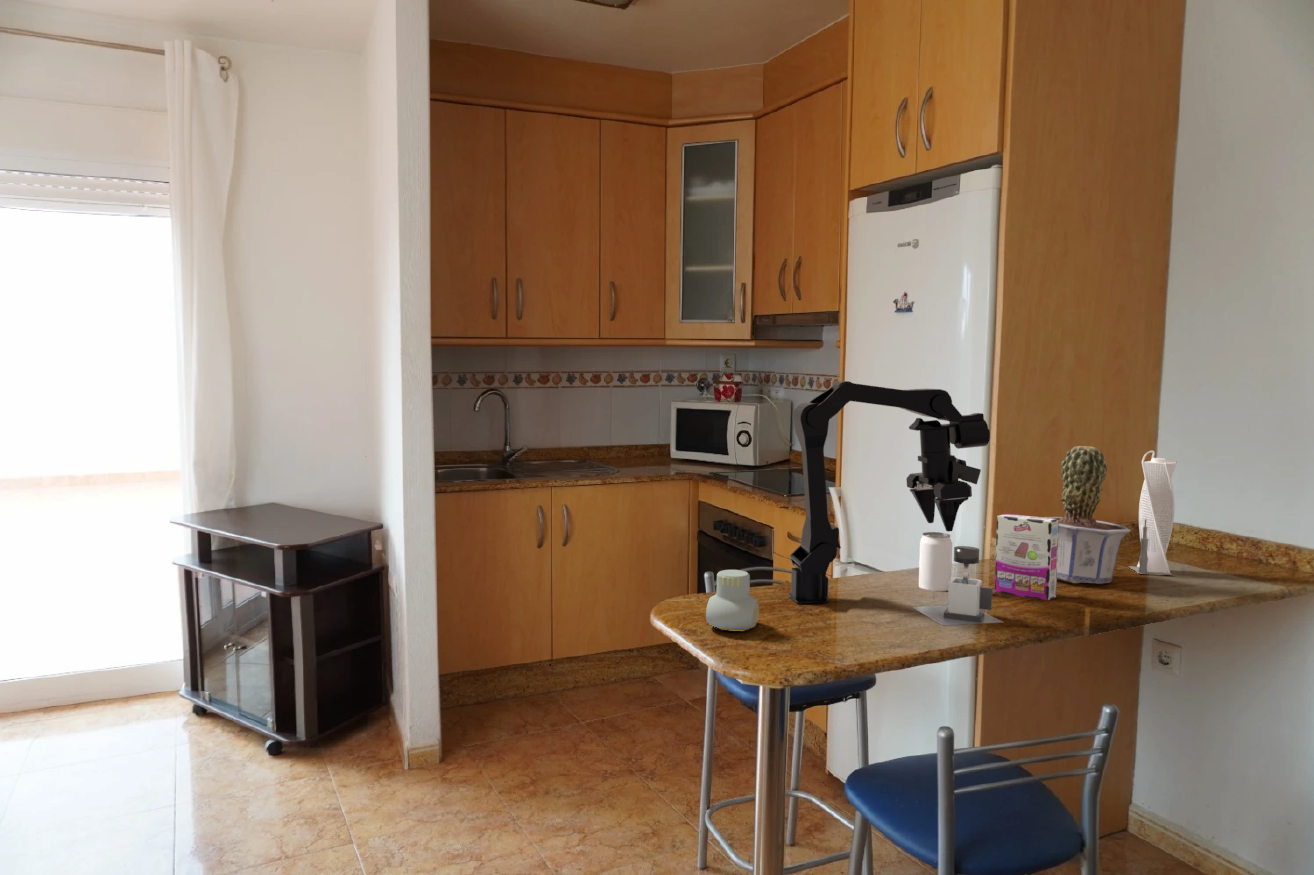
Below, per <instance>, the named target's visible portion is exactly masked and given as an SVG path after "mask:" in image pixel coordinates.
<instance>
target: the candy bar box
mask: <svg viewBox="0 0 1314 875" xmlns="http://www.w3.org/2000/svg"><path fill="white" fill-rule="evenodd" d="M1043 517H1044V516H1043ZM1043 517H1041V516H1033V515H1031V516H1030V515H1022V514H1014V513H1012V514H1011V513H1003V514H999V515H997V517H996V534H995V536H996V538H995V565H994V566H995V568H994V570H995V571H994V574H995V575H994V593H998V594H1002V595H1007V596H1013V595H1014V596H1015V597H1020V598H1027V599H1036V600H1045V601H1051V600H1054V599H1055V598H1056V597H1057V582H1058V581H1057V580H1058V579H1057V554H1058V527H1059V519H1051V518H1043Z"/></svg>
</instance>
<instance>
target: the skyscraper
mask: <svg viewBox="0 0 1314 875" xmlns="http://www.w3.org/2000/svg"><path fill="white" fill-rule="evenodd" d="M1155 452H1156V451H1155V450H1152V449H1151V450H1148V451H1147V452H1145V453H1144V455H1143V457H1142V459H1141V466H1142V472H1143V476H1144V477H1143V478H1144V480H1143V484H1142V488H1141V492H1140V497H1139V504H1138V527H1139V528H1138V529H1139V530H1138V531H1139V540H1140V553H1139V557H1138V559H1139V560H1138V563H1137V565H1136V566H1135V565H1134V566H1132V565H1131V566H1128V567H1130V568H1131V569H1133V570H1135V571H1136V572H1137V574H1138V573H1140V574H1162V575H1173V576H1174V574H1173V573H1171V571H1170V567H1169V563H1168V561H1167V560H1168V559H1167V556H1166V555H1167V551H1168V547H1169V543H1170V540H1171V536H1172V532H1173V527H1174V521H1175V519H1174V518H1175V495H1174V486H1173V482H1172V477H1173V475H1174V472H1175V469H1176V465H1177V460H1176V459H1174V458H1173V459H1169V460H1167V459H1166V458H1164V457H1155ZM1149 453H1150V454H1151V453H1152V455H1151V459H1150V460H1147V461H1145V460H1146V457H1147V455H1148V454H1149ZM1166 460H1167V461H1166ZM1131 569H1130V570H1131ZM1133 570H1132V571H1133ZM1136 572H1135V573H1136Z"/></svg>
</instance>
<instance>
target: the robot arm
mask: <svg viewBox="0 0 1314 875" xmlns="http://www.w3.org/2000/svg"><path fill="white" fill-rule="evenodd" d="M849 402H855V403H862V404H870V405H871V404H872V405H878V406H885V407H892V408H893V407H894V408H899V409H902V410H905V411H907V412H910V413H914V414H916V415H919V416H922V417H926V418H933V419H934V420H924V419H923V418H922V417H917V418H915V420H914V422H912V424H910V425H909V427H908V429H909V430H912V431H916V432H917V431H919V439H920V440H919V441H920V455H917V461H918V462H921V472H916V473H913V472H912V473H910V474H908V476H907V477H906V487H907V488H909V492H910V493H911V494H912V495H913V498H914V499H915V500H916V503H917V505H918V507H919V509H920V510H921V512H922V514H923V516H924V518H925V520H926V522H927V524H934V522H935V521H934V520H935V510H936V508H937V511H938V513H939V515H940V519H941V522H942V524H943V526H944V528H945V531H946V532H953V530H954V525H955V522H956V519H957V514H958V511H959V509H960V506H961V505H962V504H963V503H964V502H965V501H968V500H969V498H971V497H972V496H973V494H972V486H971V485H970V484H969V483H971V484H973V485H978V482H979V479H980V476H981V475H980V474H981V471H982V469H980V468H976V467H973V466H970V465H967V461H966V460H963V459H960V458H958V457H956V456H955V455H952V451H951V444H952V445H953V446H954V447H955V448H956V449H959V450H960V449H967V448H968V449H969V448H971V449H972V448H979V447H986V446H988V444H989V443H990V437H991V431H990V429H989V427H988V423H987V421H986V420H985V419H984V418H985V417H984V413H980V412H976V413H975V412H974V413H971V414H963V415H962V413H961V412H960V411H959V409H957V408H956V406H955V405H954V404H953V400H952V396H951V395H950V393H949V392H948V391H947V390H944V389H940V388H938V389H937V388H911V389H898V388H897V389H896V388H891V387H883V386H878V385H877V386H876V385H869V384H860V383H854V382H851V381H849V380H847V381H846V380H839V381H837V382H835V383H834V384H833V385H832V386H830V387H829V388H828V389H827V390H824V391H823V392H821V393H820V394H818V395H817V396H816V397H814V398H813V399H811V400H810V401H809V402H801V403H800V404H798V405H797V406H796V407H795V409H793V412H792V416H791V418H792V422H793V423H792V424H793V427H794V431H795V434H796V437H797V440H798V443H799V446H800V448H801V459H802V474H803V487H804V488H803V489H804V502H805V503H804V504H805V507H804V508H805V519H804V524H803V528H802V531H801V541H800V545H799V546H798V547H797V548H796V549H795V550H794V551H793V552H792V553H790V555H789V558H790V561H791V564H792V565H793V566H795V567H791V574H790V575H791V577H790V579H791V581H790V584H791V585H790V587H791V588H790V593H788V595H787V596H788V597H789V598H790V599H792V600H793V601H794V602H795V603H797V604H798V605H799V604H803V605H804V604H821V603H822V604H823V603H826V604H827V603H829V602H830V601H829V599H828V596H829V577H828V576H827V571H828V570H829V569H828V568H829V566H830V564H831V563H832V562H833V561H834V560H835V559H836V558H837V556H838V549H841V548H842V547H841V545H840V542H839V537H840V536H839V535H840V529H839V527H837V526H836V525H834V524H832V523H831V522H830V520H829V513H828V511H829V510H828V499H827V482H826V479H827V478H826V468H825V467H826V466H825V465H826V464H825V451H824V450H825V444H826V441H827V437H828V434H829V433H828V432H829V424H830V420H831V419H832V418H833V417H835V416H836V415H837V414H838V413H839V412H840V411H841V410H842V409H843V408H844V407H845V406H846V405H847V404H848V403H849ZM940 421H946V422H948V423H941V422H940Z"/></svg>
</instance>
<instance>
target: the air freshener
mask: <svg viewBox="0 0 1314 875" xmlns="http://www.w3.org/2000/svg"><path fill="white" fill-rule="evenodd" d="M750 582H751V576H750V573H748V572H747V571H746V570H745V571H744V570H742V569H741V570H740V569H724V570H720V571H718V573H717V574H716V591H715V592H716V593H715V594H713V595H712V596H710V597H709V599H708V602H707V605H706V609H705V620H706V622H707V624H709V626H711V625H712V626H711V627H713V626H714V628H715V627H717V628H721V629H732V630H745V629H749V630H750V628H751V629H752V628H755V627H756V625H757V622H758V618H759V610H760V606H759V604H760V603H759V601H758V599H756V598H755V597H754V596H752V595H751V594H750V588H751V587H750V586H751V584H750ZM717 628H716V629H717Z"/></svg>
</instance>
